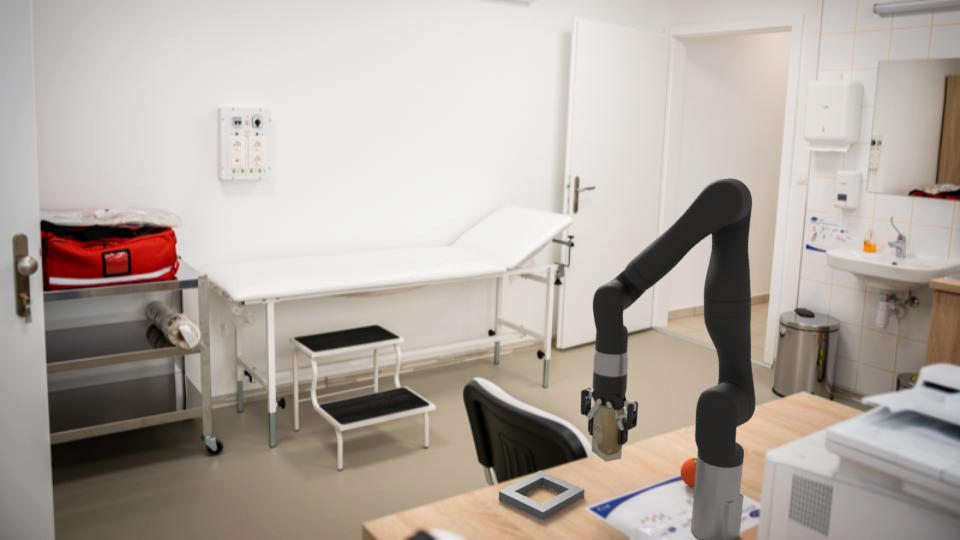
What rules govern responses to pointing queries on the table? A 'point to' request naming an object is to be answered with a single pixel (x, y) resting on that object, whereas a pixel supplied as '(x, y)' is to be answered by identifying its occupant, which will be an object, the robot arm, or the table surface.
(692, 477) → the clementine
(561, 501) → the holder
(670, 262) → the robot arm
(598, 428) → the skincare box
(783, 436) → the table surface
